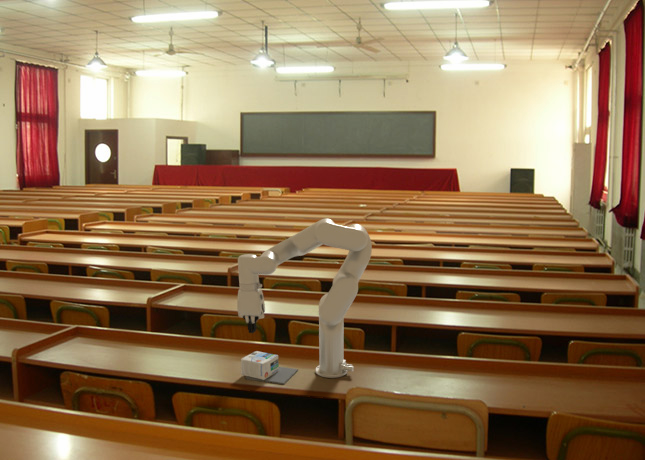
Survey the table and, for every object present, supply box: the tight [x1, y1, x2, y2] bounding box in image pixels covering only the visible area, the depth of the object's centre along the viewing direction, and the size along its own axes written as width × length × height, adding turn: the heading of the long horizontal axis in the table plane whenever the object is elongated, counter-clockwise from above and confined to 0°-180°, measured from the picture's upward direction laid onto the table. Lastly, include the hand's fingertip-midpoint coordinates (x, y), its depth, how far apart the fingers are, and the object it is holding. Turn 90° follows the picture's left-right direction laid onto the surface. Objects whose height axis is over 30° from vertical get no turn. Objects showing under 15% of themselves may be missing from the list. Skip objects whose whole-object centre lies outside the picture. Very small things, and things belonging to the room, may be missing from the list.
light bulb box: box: [240, 350, 280, 380], centre depth 241 cm, size 11×7×11 cm
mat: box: [245, 366, 299, 385], centre depth 242 cm, size 16×14×1 cm
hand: (252, 331), depth 242 cm, fingers closed
